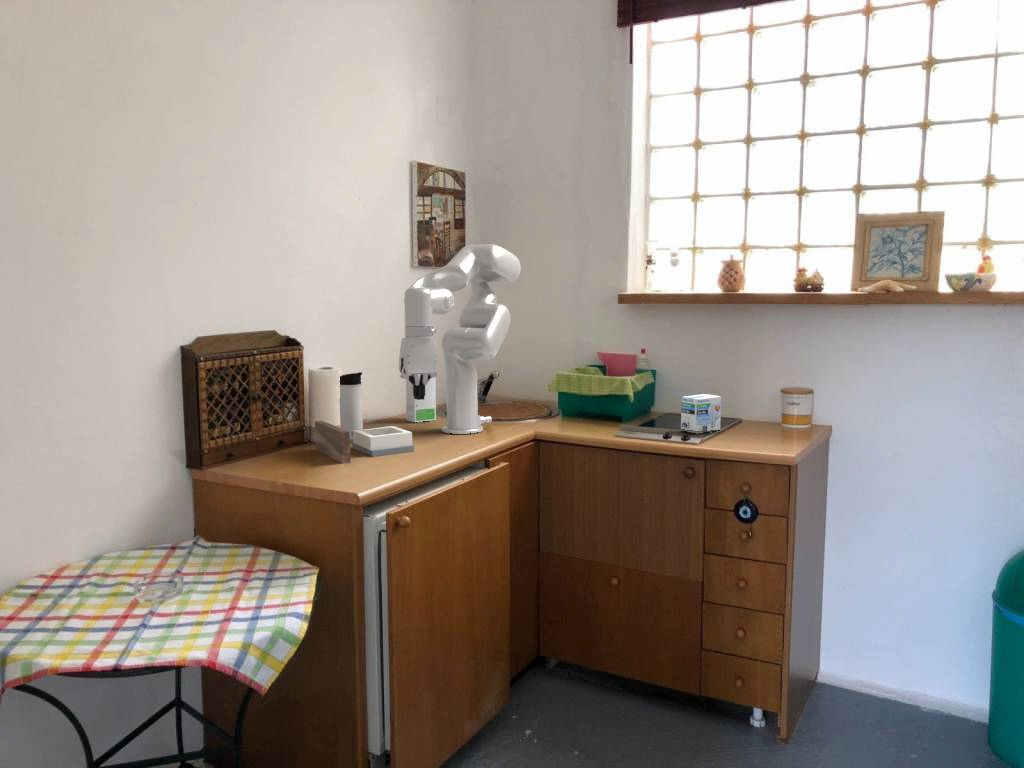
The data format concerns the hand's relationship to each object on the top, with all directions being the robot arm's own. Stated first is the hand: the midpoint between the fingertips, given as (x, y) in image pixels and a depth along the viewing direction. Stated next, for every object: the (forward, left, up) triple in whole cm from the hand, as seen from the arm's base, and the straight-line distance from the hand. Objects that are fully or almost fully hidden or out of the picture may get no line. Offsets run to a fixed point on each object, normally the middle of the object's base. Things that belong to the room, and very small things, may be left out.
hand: (419, 398), depth 221 cm
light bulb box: (-80, +30, -13) cm, 86 cm away
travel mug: (+13, -16, -13) cm, 25 cm away
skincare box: (-19, -36, -13) cm, 43 cm away
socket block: (+11, 0, -13) cm, 17 cm away
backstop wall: (+25, 0, -13) cm, 29 cm away
